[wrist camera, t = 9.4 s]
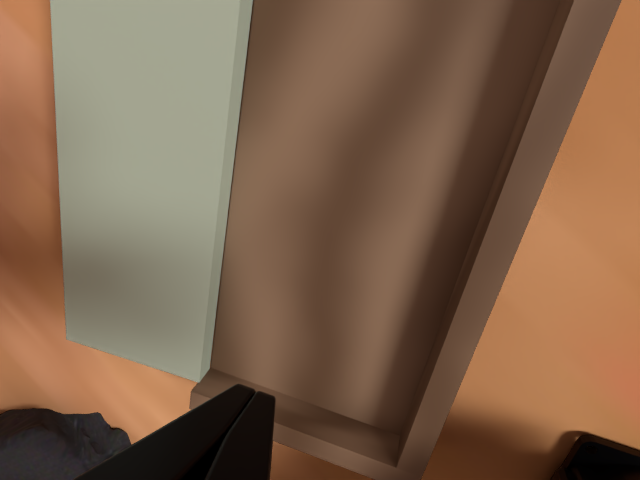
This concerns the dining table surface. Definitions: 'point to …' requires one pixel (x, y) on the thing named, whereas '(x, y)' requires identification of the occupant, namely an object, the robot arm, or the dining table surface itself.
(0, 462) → the dark slate chunk
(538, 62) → the brown shallow tray
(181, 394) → the dining table surface
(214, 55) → the tailgate
